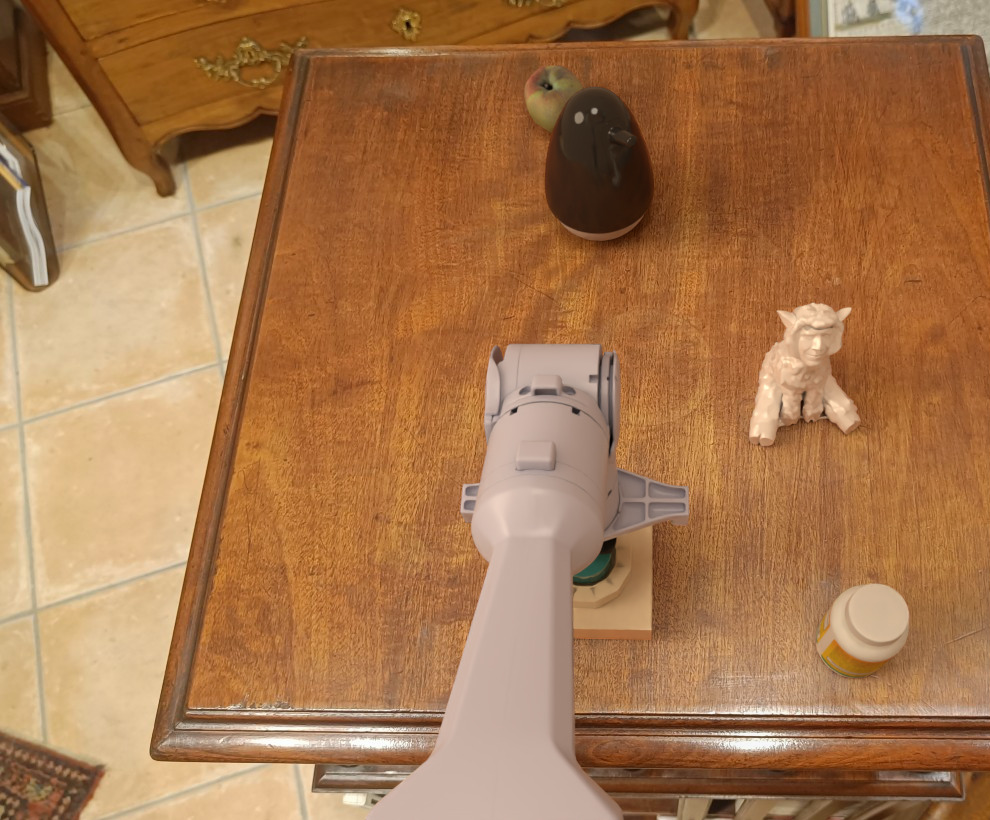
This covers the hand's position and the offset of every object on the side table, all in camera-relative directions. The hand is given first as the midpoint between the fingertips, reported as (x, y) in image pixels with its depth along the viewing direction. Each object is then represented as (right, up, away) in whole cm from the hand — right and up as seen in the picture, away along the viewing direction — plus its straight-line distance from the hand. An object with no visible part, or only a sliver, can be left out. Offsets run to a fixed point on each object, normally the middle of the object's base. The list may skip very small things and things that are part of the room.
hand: (583, 546), depth 67 cm
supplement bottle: (+20, -8, +3) cm, 22 cm away
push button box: (0, -3, +6) cm, 7 cm away
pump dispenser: (+1, +29, +23) cm, 37 cm away
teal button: (0, -1, +2) cm, 3 cm away
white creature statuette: (+18, +11, +13) cm, 24 cm away
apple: (-3, +40, +29) cm, 50 cm away
